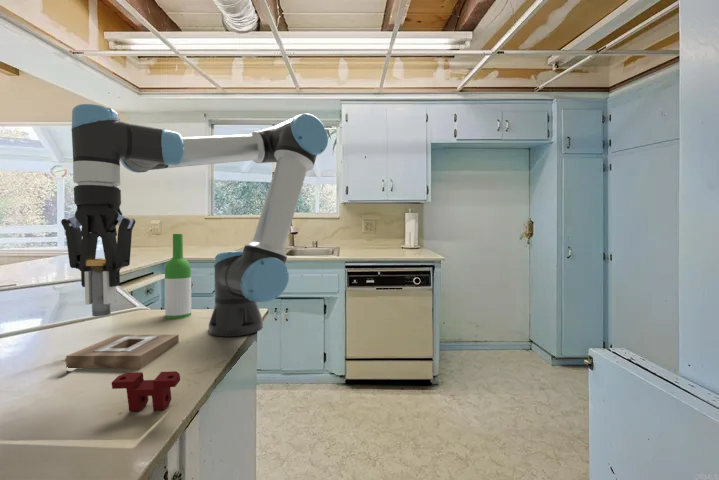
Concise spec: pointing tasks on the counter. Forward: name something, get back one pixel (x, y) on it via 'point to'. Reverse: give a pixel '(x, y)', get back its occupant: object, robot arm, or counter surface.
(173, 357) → the counter surface
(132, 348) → the wooden square socket block
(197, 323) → the counter surface
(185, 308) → the wine bottle
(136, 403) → the bracket
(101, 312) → the flanged metal peg
